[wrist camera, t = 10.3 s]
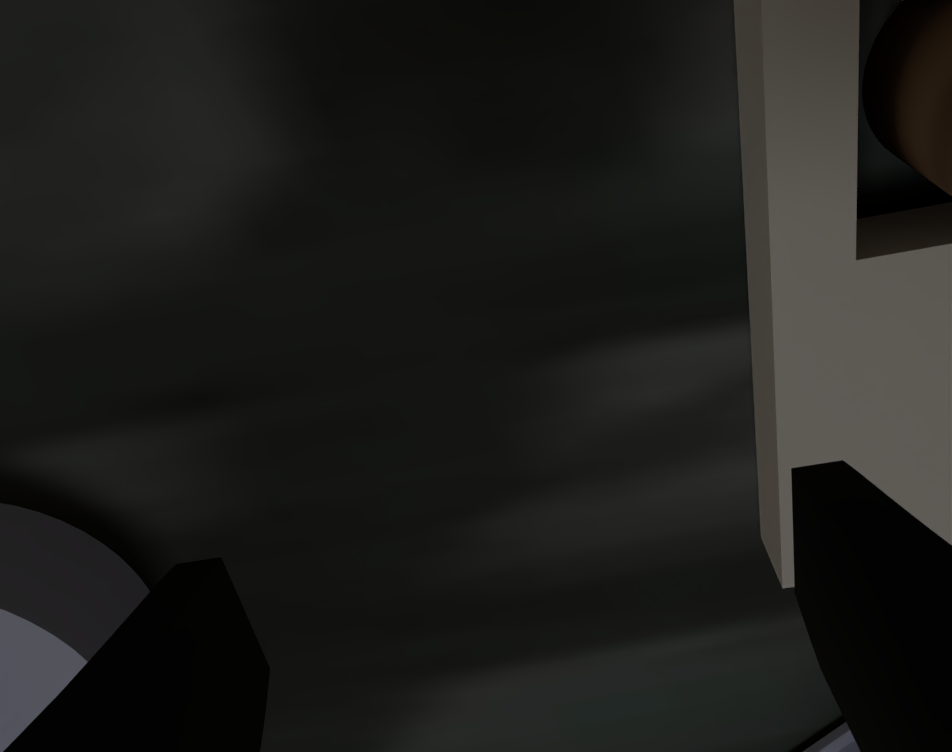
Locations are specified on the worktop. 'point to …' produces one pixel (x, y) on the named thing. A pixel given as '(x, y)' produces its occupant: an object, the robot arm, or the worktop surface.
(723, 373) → the worktop surface
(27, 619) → the wedge on round base
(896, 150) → the walnut pin
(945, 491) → the peg board
